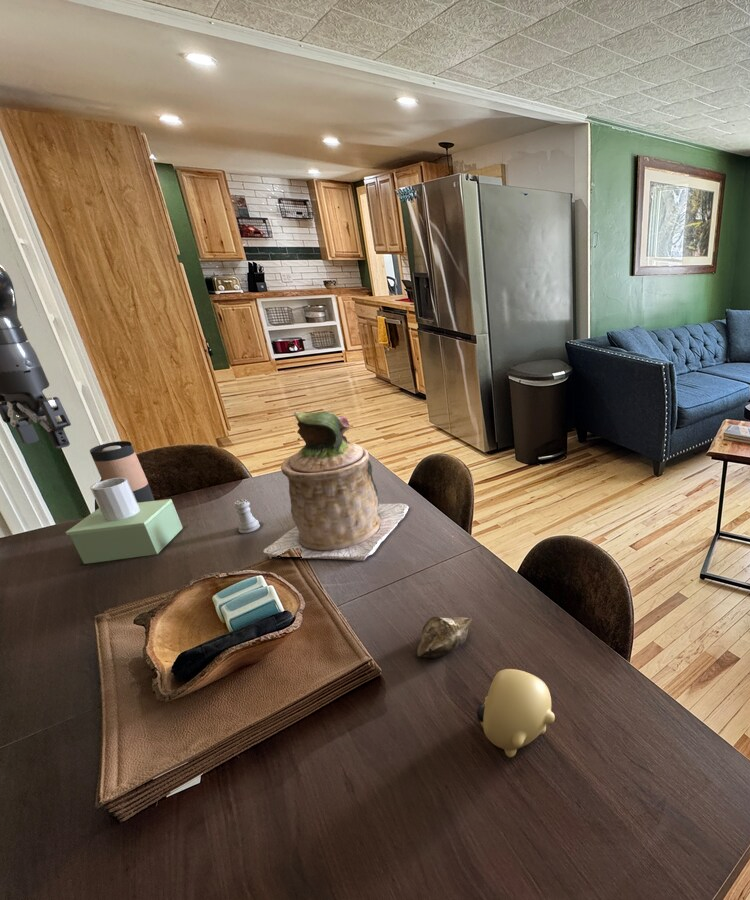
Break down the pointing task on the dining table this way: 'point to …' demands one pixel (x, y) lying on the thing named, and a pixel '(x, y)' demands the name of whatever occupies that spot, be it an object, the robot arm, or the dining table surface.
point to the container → (129, 539)
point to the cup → (115, 499)
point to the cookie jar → (333, 495)
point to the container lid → (142, 518)
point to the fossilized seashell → (442, 636)
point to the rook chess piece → (246, 517)
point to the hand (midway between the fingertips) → (47, 444)
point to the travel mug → (122, 467)
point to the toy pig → (515, 710)
